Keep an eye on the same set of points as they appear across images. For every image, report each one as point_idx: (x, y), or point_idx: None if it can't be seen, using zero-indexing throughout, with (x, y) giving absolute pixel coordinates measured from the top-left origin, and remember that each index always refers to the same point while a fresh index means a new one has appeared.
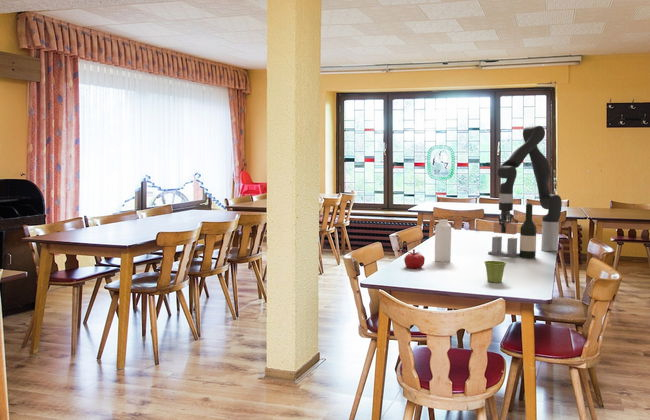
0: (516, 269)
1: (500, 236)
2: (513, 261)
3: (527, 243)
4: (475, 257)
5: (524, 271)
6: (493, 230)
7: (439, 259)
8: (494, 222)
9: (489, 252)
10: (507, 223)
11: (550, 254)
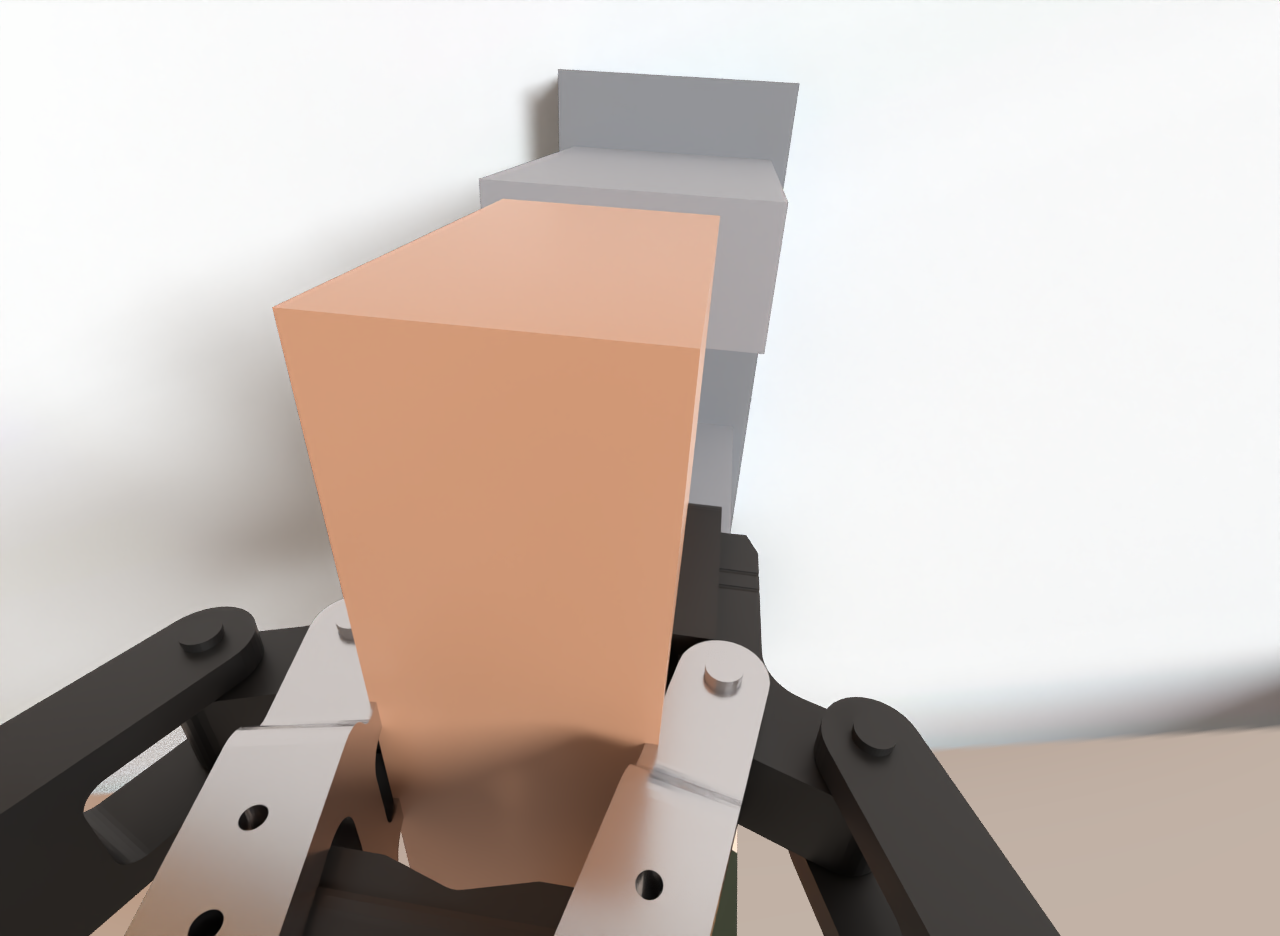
0: (17, 631)
1: (749, 322)
2: (315, 536)
3: None
4: (140, 17)
5: (16, 682)
6: (474, 212)
7: None
8: (304, 347)
9: (560, 99)
10: (414, 836)
11: (1044, 734)
